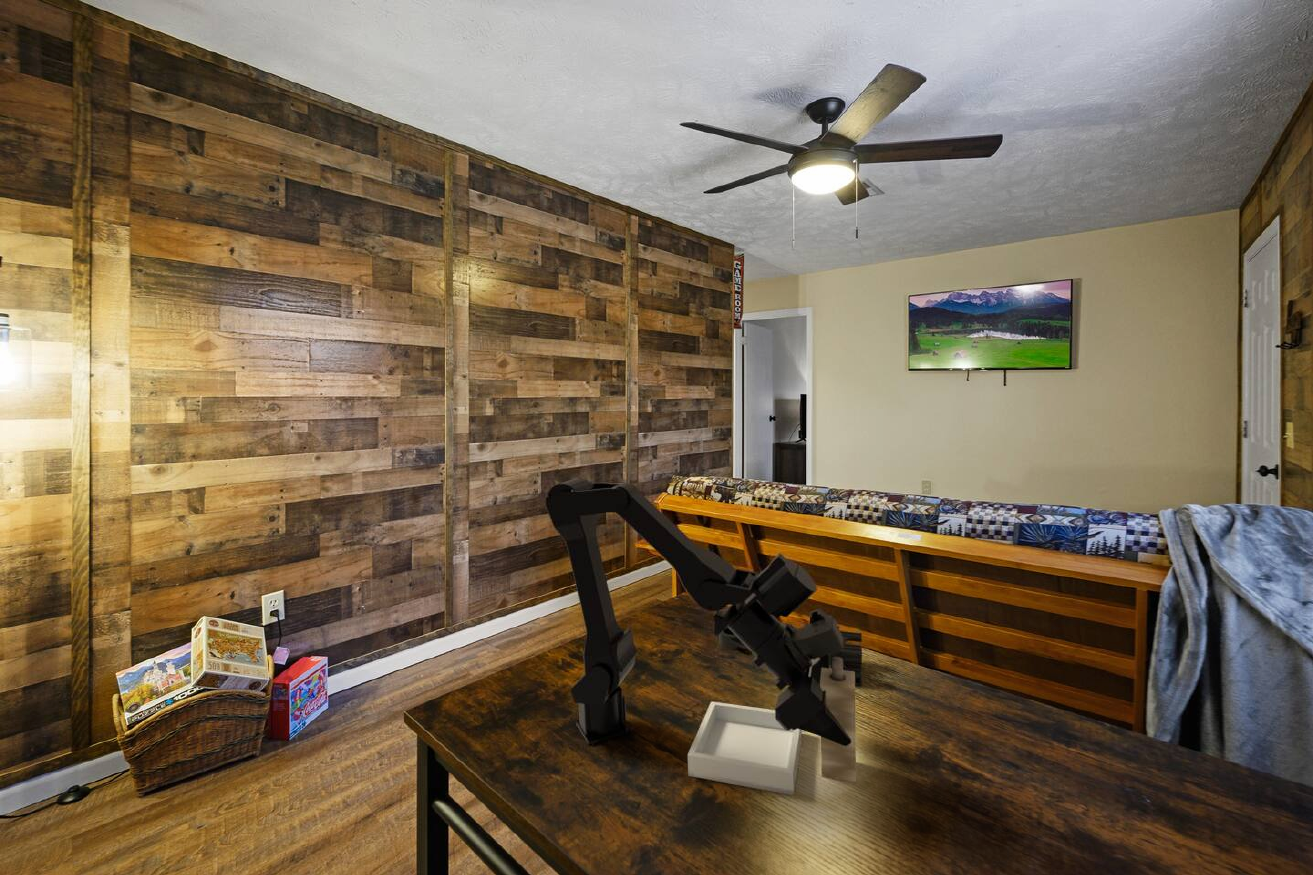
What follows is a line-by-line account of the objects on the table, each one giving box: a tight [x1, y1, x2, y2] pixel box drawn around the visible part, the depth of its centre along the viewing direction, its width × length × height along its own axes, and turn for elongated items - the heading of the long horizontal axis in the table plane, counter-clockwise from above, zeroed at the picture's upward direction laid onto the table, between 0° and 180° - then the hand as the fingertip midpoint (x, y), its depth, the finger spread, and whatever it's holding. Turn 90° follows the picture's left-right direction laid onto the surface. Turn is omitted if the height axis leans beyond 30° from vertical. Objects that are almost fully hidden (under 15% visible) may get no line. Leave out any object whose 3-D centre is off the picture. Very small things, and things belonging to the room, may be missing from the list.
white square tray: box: [687, 701, 803, 796], centre depth 82 cm, size 14×14×3 cm
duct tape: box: [718, 627, 749, 651], centre depth 118 cm, size 8×10×3 cm
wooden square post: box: [820, 657, 857, 783], centre depth 78 cm, size 4×4×16 cm
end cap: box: [829, 625, 863, 687], centre depth 105 cm, size 10×7×7 cm
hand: (849, 723), depth 77 cm, fingers open, 9 cm apart
